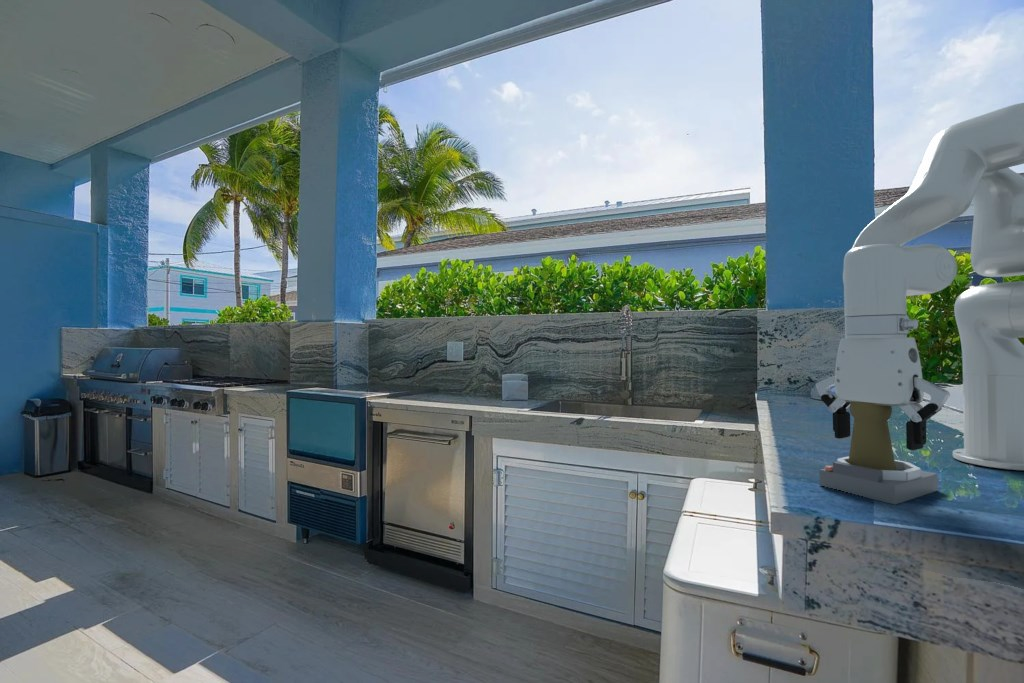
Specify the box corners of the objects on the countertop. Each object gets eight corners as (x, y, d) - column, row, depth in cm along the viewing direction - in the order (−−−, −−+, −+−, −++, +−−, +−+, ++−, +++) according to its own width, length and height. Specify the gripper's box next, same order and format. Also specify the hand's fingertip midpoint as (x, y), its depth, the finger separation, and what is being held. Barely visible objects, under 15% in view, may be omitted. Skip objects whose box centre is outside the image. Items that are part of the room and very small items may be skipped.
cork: (905, 476, 71) (904, 400, 71) (858, 474, 73) (857, 399, 73) (883, 465, 77) (882, 395, 77) (840, 464, 78) (839, 395, 78)
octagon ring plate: (863, 474, 81) (862, 450, 81) (937, 490, 72) (937, 463, 72) (819, 485, 76) (819, 459, 76) (895, 504, 67) (894, 475, 67)
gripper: (959, 326, 68) (961, 450, 68) (829, 330, 83) (831, 431, 83) (933, 326, 65) (935, 457, 65) (802, 330, 80) (804, 436, 80)
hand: (876, 442), depth 74 cm, fingers open, 9 cm apart
